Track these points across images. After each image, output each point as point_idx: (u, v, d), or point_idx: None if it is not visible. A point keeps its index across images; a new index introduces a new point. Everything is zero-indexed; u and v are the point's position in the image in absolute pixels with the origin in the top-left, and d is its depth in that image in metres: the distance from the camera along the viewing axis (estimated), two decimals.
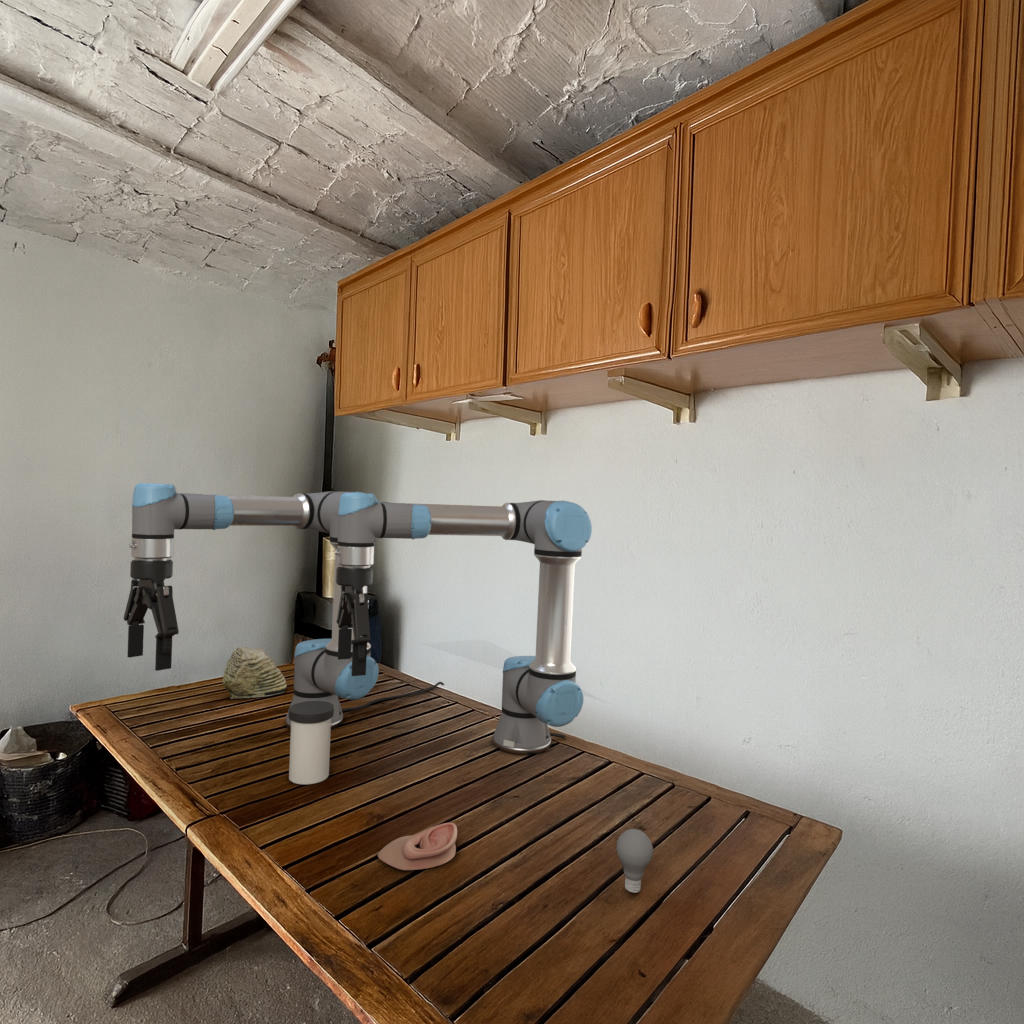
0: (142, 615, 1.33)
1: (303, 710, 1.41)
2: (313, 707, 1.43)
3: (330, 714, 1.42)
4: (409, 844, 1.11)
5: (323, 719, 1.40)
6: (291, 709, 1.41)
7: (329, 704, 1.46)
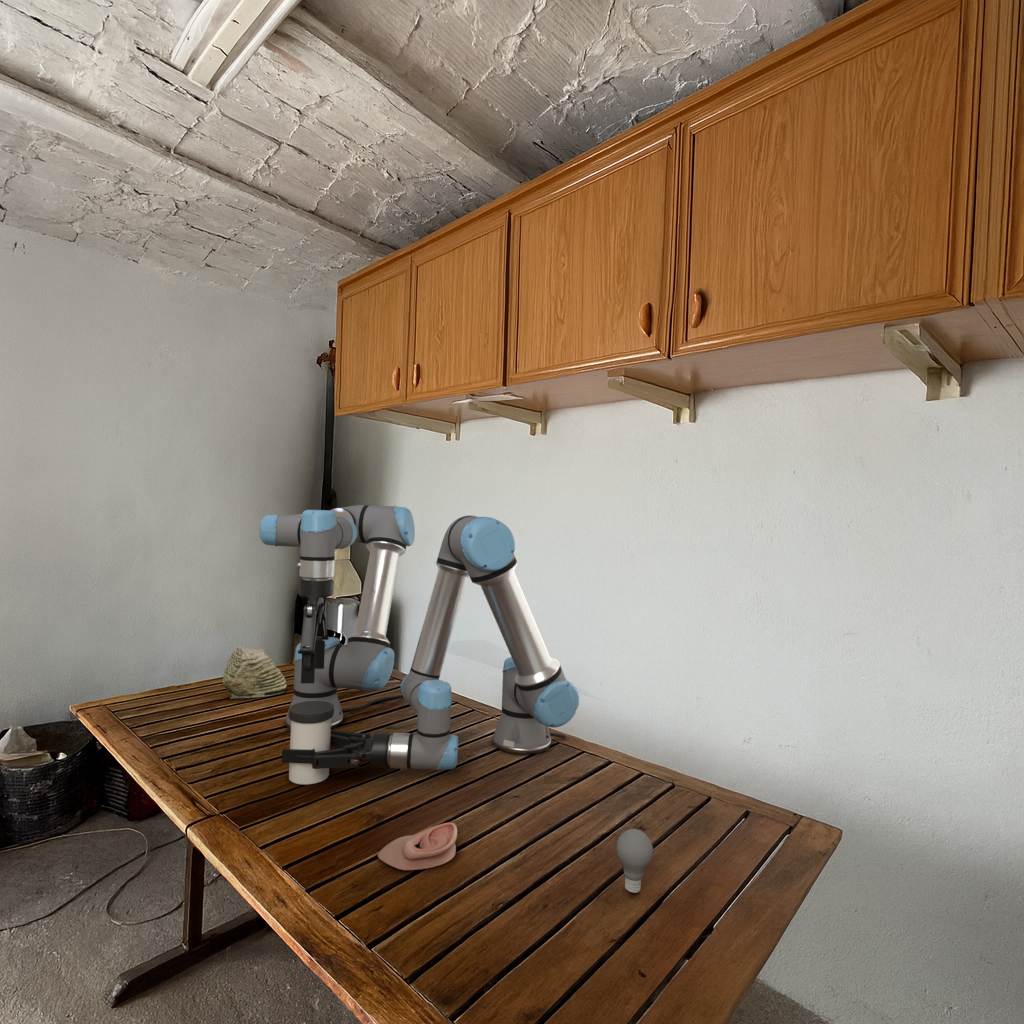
0: (321, 631, 1.48)
1: (303, 710, 1.41)
2: (313, 707, 1.43)
3: (331, 714, 1.42)
4: (409, 844, 1.11)
5: (323, 719, 1.40)
6: (291, 709, 1.41)
7: (329, 704, 1.46)
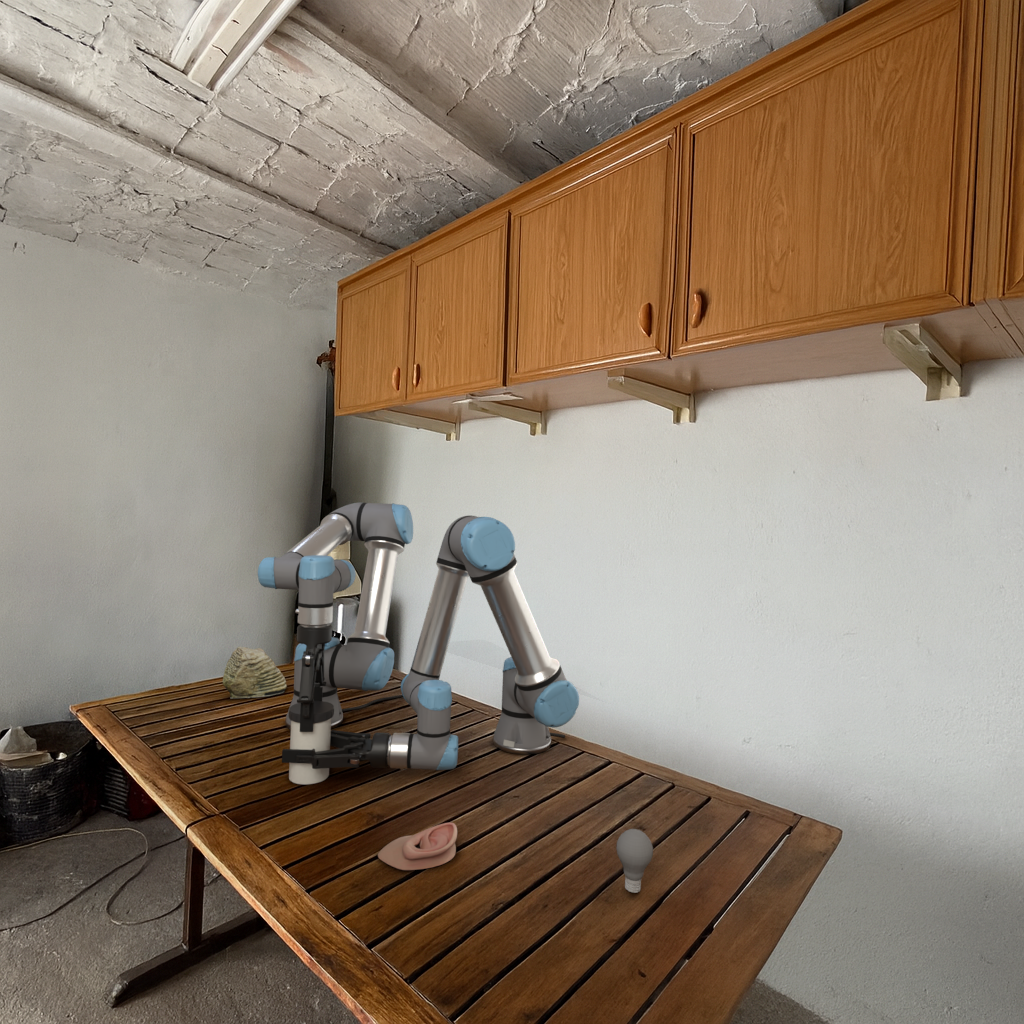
0: (319, 677, 1.47)
1: None
2: None
3: (331, 714, 1.42)
4: (409, 844, 1.11)
5: (323, 719, 1.40)
6: (291, 709, 1.41)
7: (329, 704, 1.46)
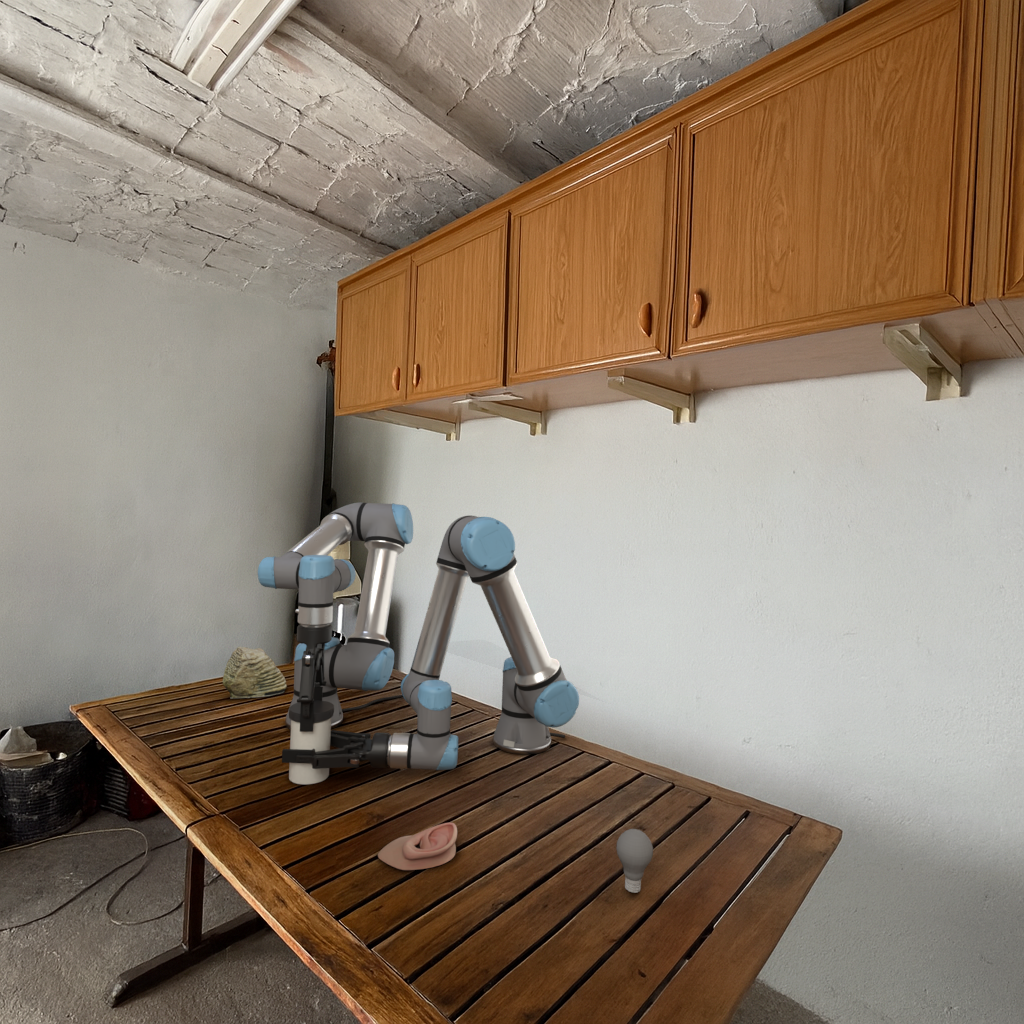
0: (319, 677, 1.47)
1: (320, 708, 1.42)
2: None
3: None
4: (409, 844, 1.11)
5: None
6: (316, 712, 1.39)
7: None
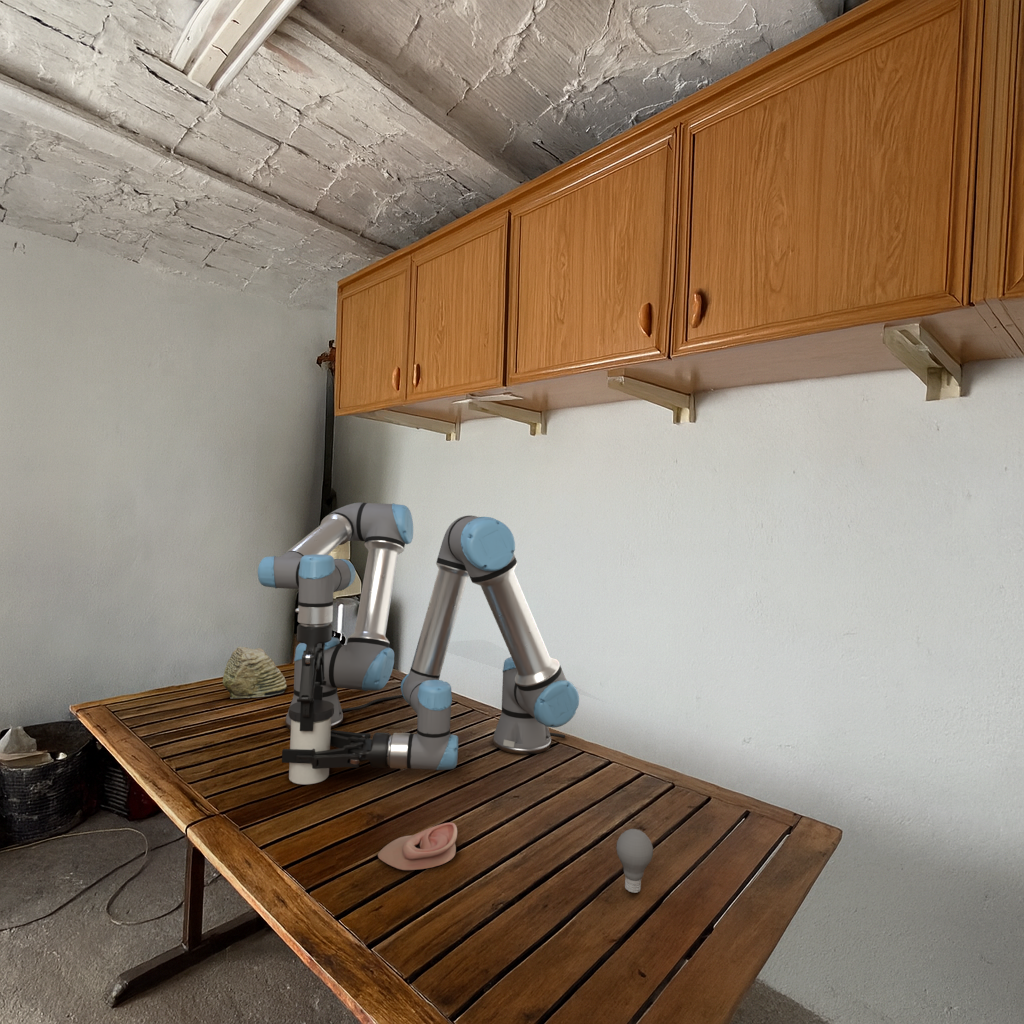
0: (319, 676, 1.47)
1: (318, 703, 1.45)
2: None
3: None
4: (409, 844, 1.11)
5: None
6: (330, 703, 1.45)
7: (294, 710, 1.40)
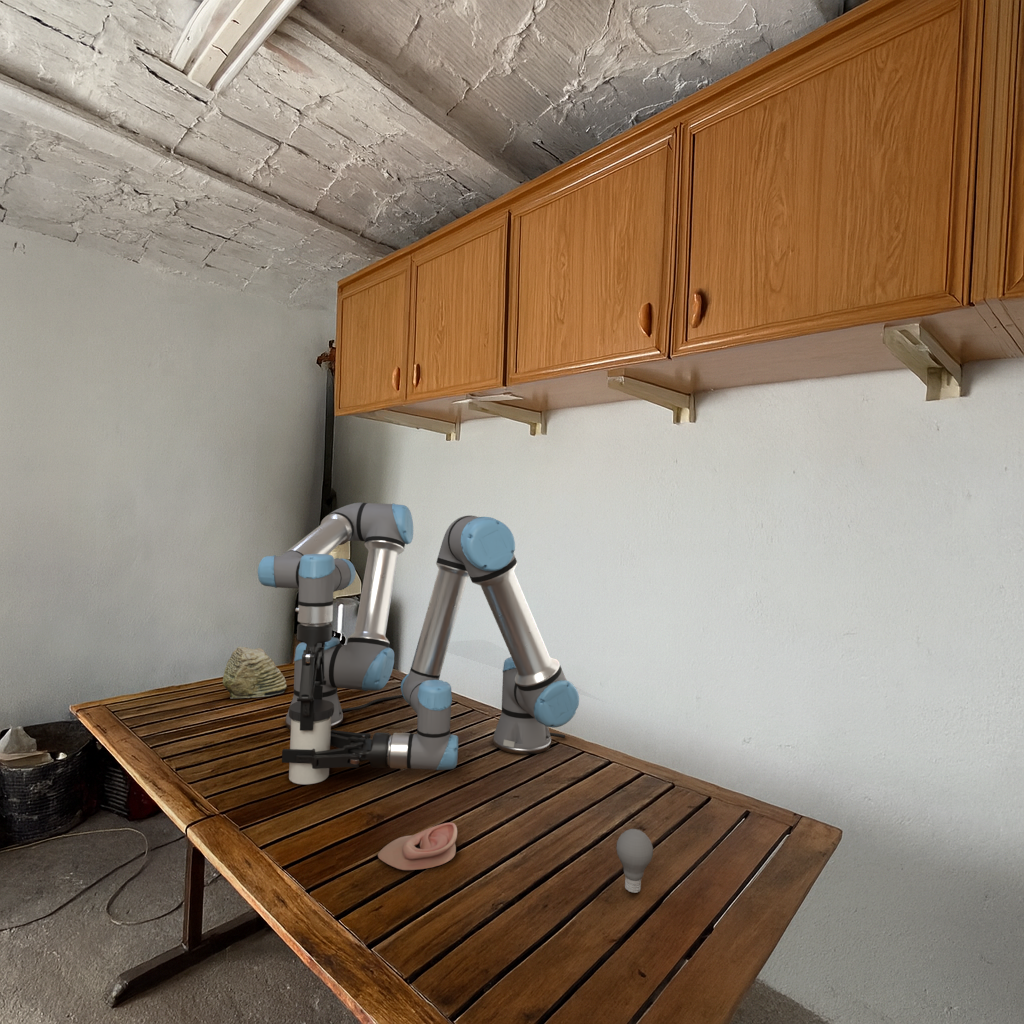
0: (319, 676, 1.47)
1: None
2: None
3: None
4: (409, 844, 1.11)
5: (295, 718, 1.39)
6: None
7: (322, 710, 1.40)
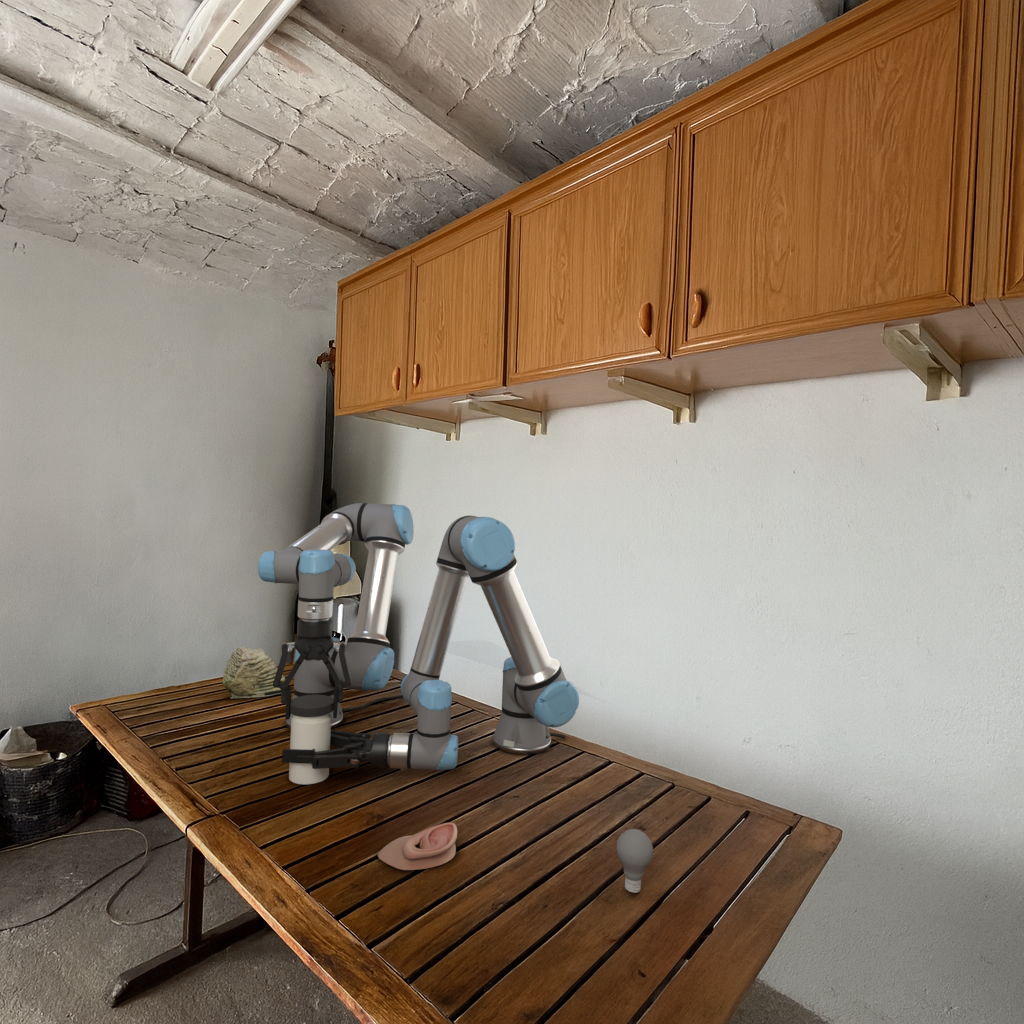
0: None
1: (306, 704, 1.41)
2: (314, 701, 1.43)
3: (333, 705, 1.44)
4: (409, 844, 1.11)
5: (329, 711, 1.41)
6: (293, 705, 1.40)
7: (327, 696, 1.47)
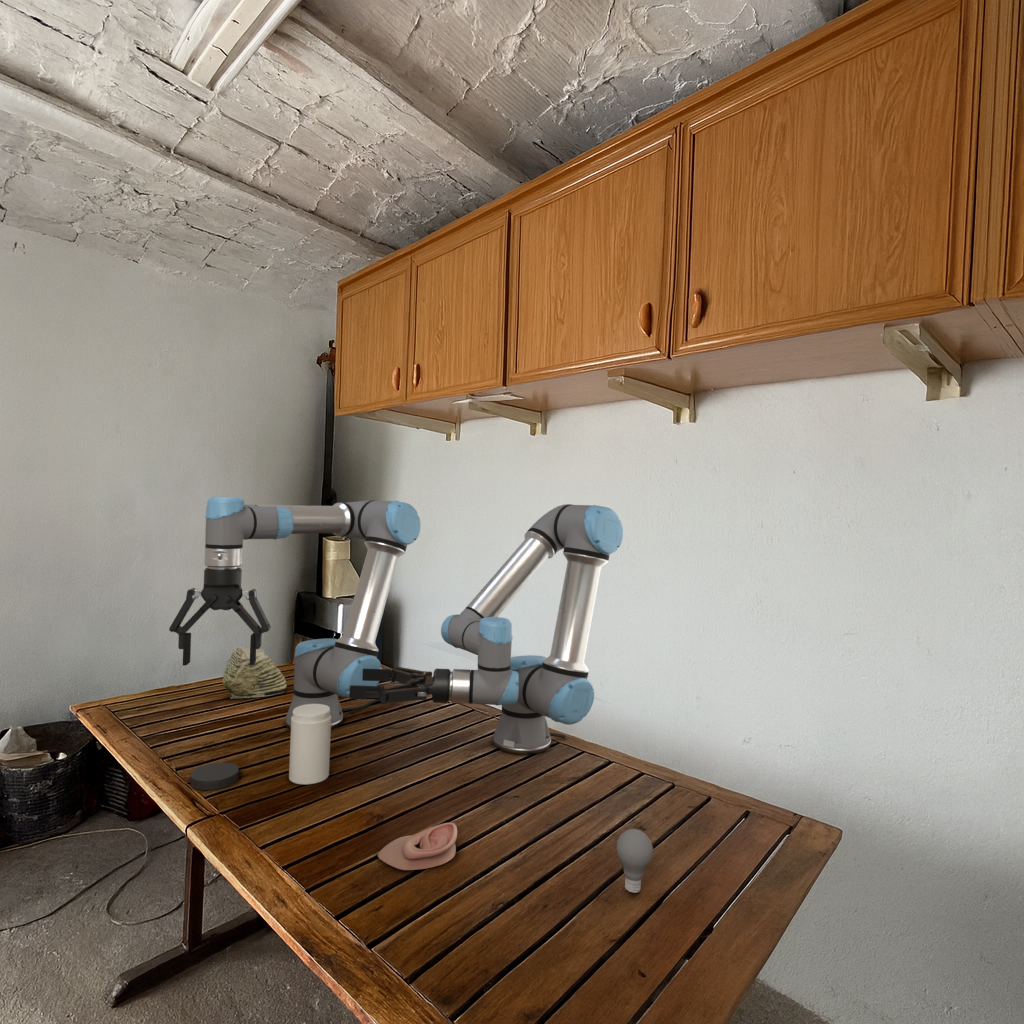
0: (194, 623, 1.38)
1: (207, 776, 1.37)
2: (217, 771, 1.39)
3: (237, 775, 1.40)
4: (409, 844, 1.11)
5: (231, 782, 1.37)
6: (194, 776, 1.36)
7: (232, 765, 1.43)
